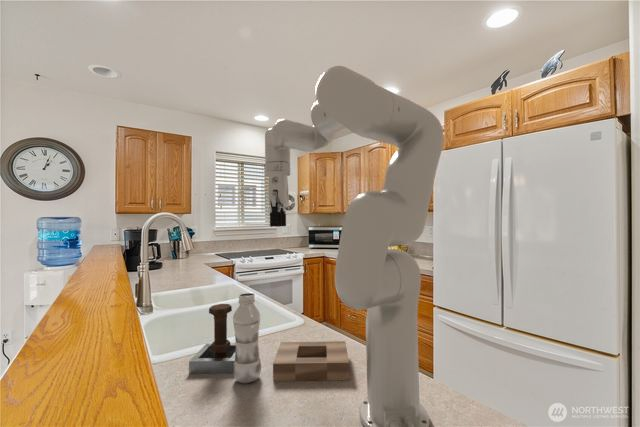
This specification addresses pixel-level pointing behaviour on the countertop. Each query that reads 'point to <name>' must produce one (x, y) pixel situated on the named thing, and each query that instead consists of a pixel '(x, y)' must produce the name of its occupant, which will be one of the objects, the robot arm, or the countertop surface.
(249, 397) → the countertop surface
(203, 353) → the frame
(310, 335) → the countertop surface
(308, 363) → the wooden block with hole
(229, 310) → the bolt
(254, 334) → the plastic bottle
